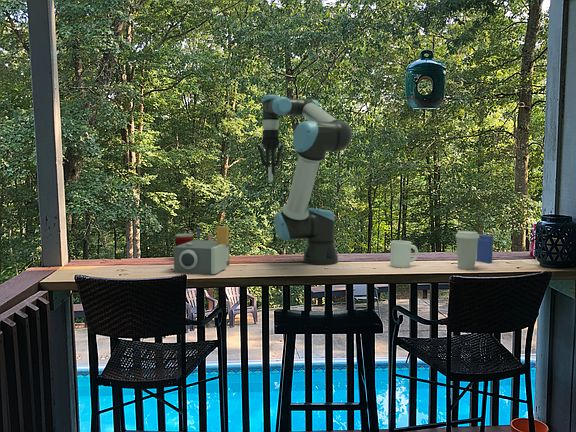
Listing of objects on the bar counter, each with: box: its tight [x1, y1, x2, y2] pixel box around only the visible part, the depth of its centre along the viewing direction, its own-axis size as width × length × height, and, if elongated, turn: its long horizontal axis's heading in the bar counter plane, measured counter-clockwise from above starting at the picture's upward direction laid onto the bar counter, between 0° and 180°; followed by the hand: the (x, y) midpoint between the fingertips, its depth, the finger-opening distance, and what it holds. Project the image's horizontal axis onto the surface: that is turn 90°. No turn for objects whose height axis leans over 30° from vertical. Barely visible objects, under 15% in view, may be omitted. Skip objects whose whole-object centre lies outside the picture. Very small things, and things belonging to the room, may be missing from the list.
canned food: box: [174, 233, 194, 247], centre depth 250 cm, size 8×8×11 cm
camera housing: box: [173, 239, 230, 275], centre depth 228 cm, size 16×22×11 cm
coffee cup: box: [455, 230, 480, 270], centre depth 232 cm, size 10×10×15 cm
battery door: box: [210, 225, 230, 275], centre depth 221 cm, size 4×13×17 cm, turn 166°
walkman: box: [475, 233, 494, 264], centre depth 247 cm, size 8×3×12 cm, turn 39°
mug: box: [389, 239, 419, 268], centre depth 236 cm, size 12×8×10 cm
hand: (270, 181), depth 259 cm, fingers closed
